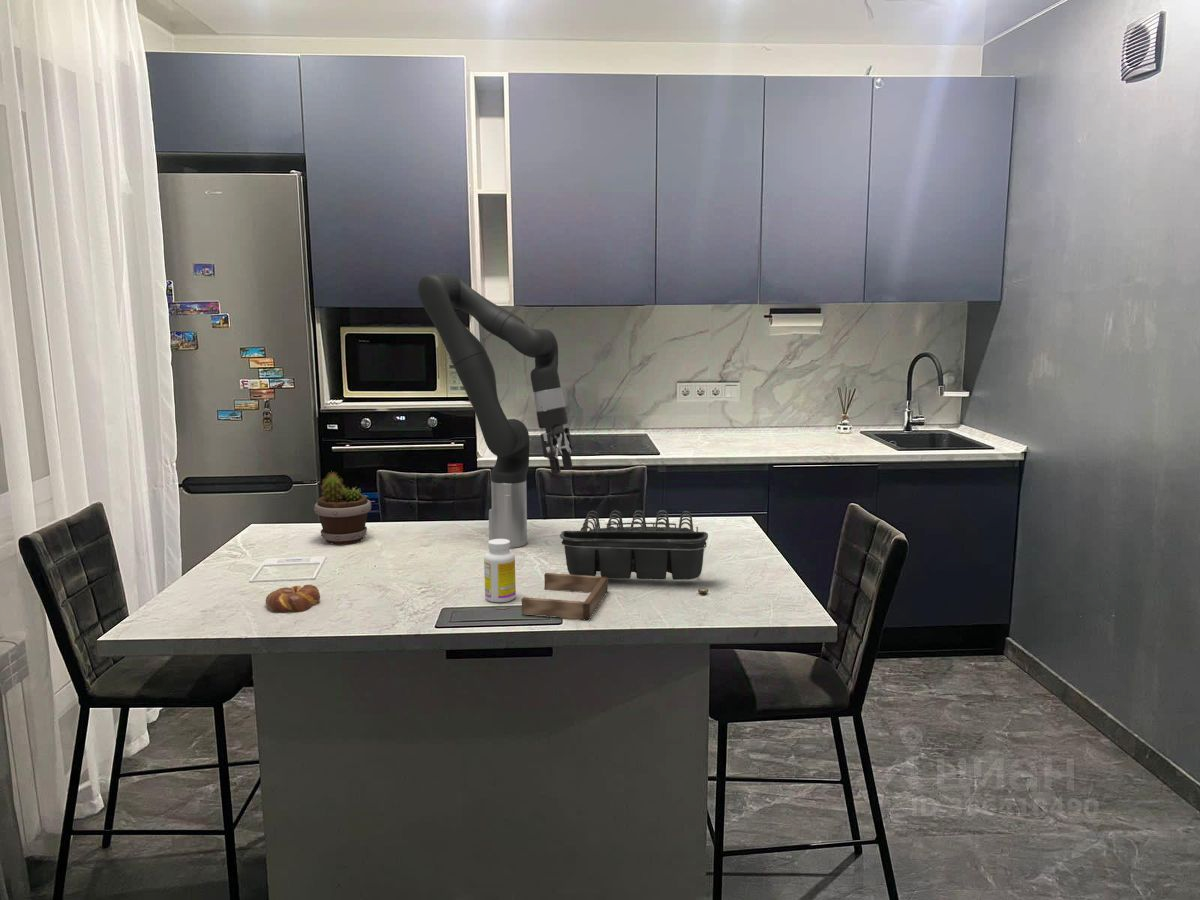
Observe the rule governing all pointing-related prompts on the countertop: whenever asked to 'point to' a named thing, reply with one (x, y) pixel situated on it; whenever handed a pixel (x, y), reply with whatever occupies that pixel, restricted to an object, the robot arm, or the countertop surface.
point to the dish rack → (635, 549)
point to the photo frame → (289, 563)
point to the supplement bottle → (499, 571)
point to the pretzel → (293, 598)
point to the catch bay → (565, 607)
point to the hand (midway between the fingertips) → (562, 471)
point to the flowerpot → (342, 512)
